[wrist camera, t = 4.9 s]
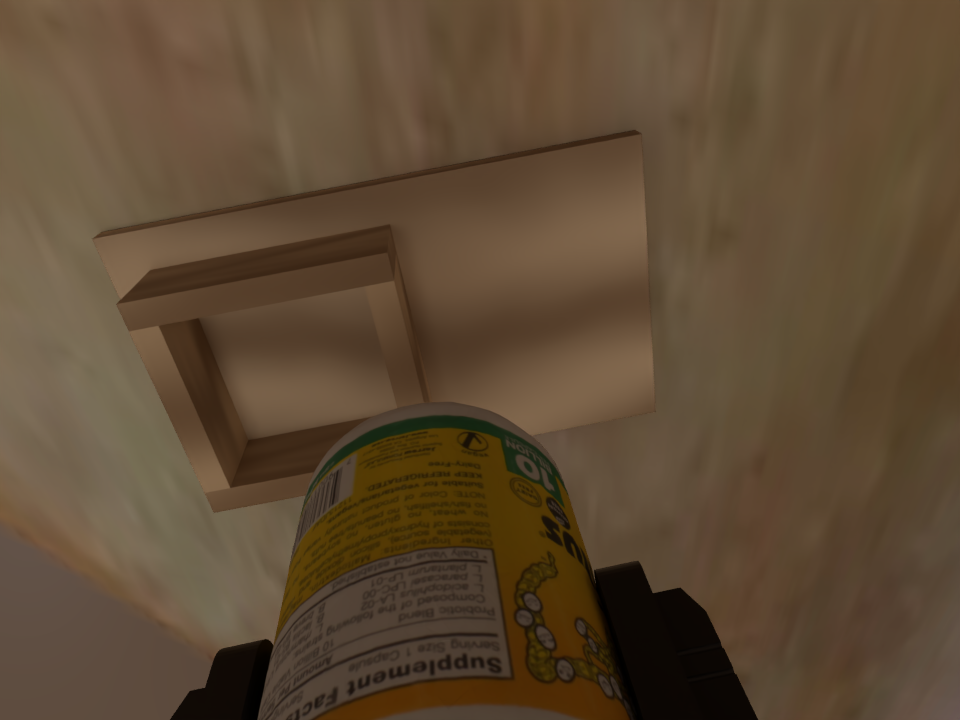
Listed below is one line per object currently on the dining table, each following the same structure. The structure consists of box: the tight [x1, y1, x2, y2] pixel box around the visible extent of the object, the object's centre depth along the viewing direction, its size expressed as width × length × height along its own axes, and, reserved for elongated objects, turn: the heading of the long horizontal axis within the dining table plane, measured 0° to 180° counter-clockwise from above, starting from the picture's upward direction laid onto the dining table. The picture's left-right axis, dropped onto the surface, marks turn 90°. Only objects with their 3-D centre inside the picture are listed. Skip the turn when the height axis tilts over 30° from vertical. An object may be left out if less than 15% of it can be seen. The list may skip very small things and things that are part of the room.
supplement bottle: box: [257, 402, 639, 720], centre depth 10 cm, size 5×5×10 cm
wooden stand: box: [92, 130, 656, 513], centre depth 26 cm, size 12×20×4 cm, turn 100°
